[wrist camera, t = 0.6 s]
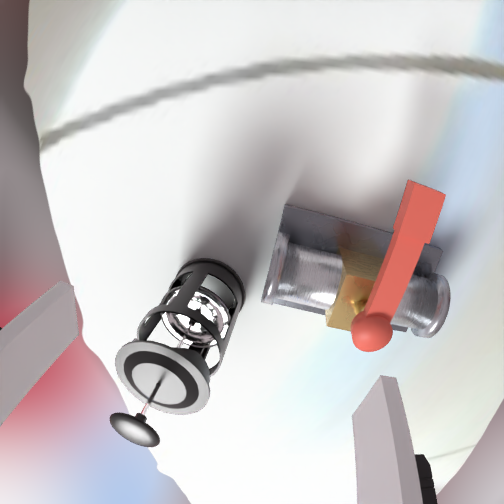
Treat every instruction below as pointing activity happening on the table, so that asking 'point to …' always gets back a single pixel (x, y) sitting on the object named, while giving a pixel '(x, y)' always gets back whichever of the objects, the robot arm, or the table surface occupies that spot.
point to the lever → (397, 265)
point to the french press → (177, 349)
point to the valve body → (348, 273)
